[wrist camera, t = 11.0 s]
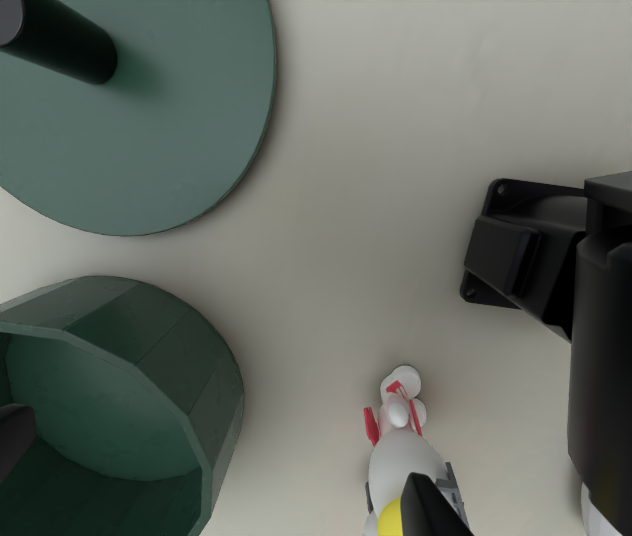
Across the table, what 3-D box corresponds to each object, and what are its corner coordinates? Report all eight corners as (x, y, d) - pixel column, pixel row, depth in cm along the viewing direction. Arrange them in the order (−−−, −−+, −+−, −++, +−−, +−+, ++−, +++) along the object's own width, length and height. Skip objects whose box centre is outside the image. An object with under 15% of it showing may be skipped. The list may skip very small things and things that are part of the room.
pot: (252, 295, 18) (218, 351, 12) (237, 493, 23) (206, 600, 17) (-15, 258, 18) (-172, 298, 12) (23, 464, 22) (-79, 562, 17)
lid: (297, -142, 12) (274, -377, 7) (263, 251, 17) (234, 287, 12) (-109, -199, 12) (-438, -480, 7) (-31, 210, 17) (-193, 228, 12)
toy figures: (420, 500, 22) (471, 686, 14) (357, 500, 22) (373, 683, 14) (429, 349, 19) (506, 483, 11) (355, 351, 19) (374, 483, 11)
